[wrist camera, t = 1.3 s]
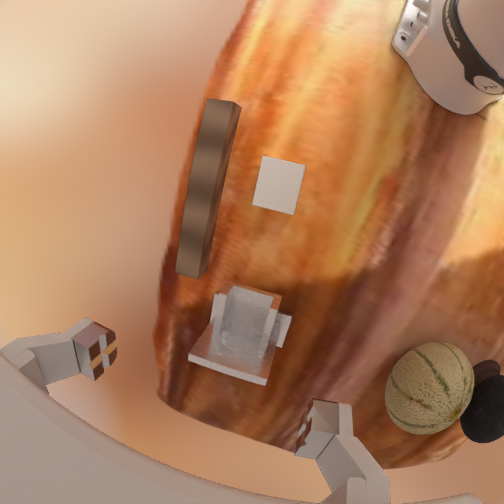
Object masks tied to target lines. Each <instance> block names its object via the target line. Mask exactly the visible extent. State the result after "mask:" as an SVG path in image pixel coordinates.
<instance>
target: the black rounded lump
mask: <svg viewBox="0 0 504 504" xmlns="http://www.w3.org/2000/svg"><path fill="white" fill-rule="evenodd" d="M472 369H473V372H474V388H473V394H472V398H471V400H470V403H469V405H468V406H467V408H466V409H465V411H464V412H463V414H462V415H461V416H460V422H461V427H462V430H463V432H464V434H465V435H466V436H467V437H468V438H469V439H470V440H472V441H474V442H477V443H488V442H492V441H495V440H497V439H499V438H500V437H502V436H503V435H504V376H503V375H500V366H499V365H498V363H497V362H496V361H494V360H486V361H483V362H480V363H479V364H477V365H475V366H474V367H472Z"/></svg>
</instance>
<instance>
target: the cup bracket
mask: <svg viewBox="0 0 504 504" xmlns="http://www.w3.org/2000/svg"><path fill="white" fill-rule="evenodd" d="M281 298H282V296H281V295H277V294H274V293H270V292H267V291H263V290H260V289H256V288H253V287H249V286H246V285H243V284H239V283H236V282H233V281H228V282H227V283H226V285H225V286H224V287H223V288H222V290H221V291H220V292H216V293H215V295H214V301H213V307H212V313H211V319H210V324H209V325H208V327H207V328H206V329H205V331H204V332H203V334H202V335H201V337H200V338H199V340H198V341H197V342H196V344H195V345H194V347H193V348H192V350H191V351H190V352H189V357H188V360H189V361H191V362H194V363H197V364H200V365H202V366H205V367H208V368H211V369H213V370H216V371H219V372H222V373H225V374H228V375H231V376H234V377H237V378H240V379H244V380H247V381H250V382H254V383H257V384H260V385H264V386H265V384H266V381H267V378H268V375H269V371H270V368H271V364H272V360H273V357H274V353H275V350H276V346H278V347H281V348H282V345H283V342H284V339H285V336H286V333H287V330H288V327H289V324H290V321H291V318H292V315H293V314H290V313H287V312H283V311H280V310H278V308H279V305H280V302H281Z"/></svg>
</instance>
